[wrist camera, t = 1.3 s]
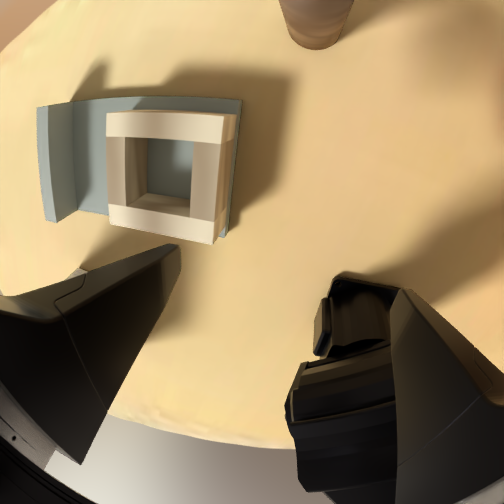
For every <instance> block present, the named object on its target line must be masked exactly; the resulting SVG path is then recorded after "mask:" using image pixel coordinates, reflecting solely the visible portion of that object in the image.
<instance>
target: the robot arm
mask: <svg viewBox="0 0 504 504" xmlns="http://www.w3.org/2000/svg"><path fill="white" fill-rule="evenodd" d="M180 271H181V249H180V247H179V246H178V245H174V244H166V245H163V246H160V247H157V248H154V249H151V250H148V251H145V252H142V253H139V254H137V255H134V256H131V257H128V258H125V259H122V260H120V261H117V262H114V263H111V264H109V265H106V266H103V267H100V268H98V269H95V270H92V271H89V272H87V273H84V274H81V275H79V276H76V277H73V278H70V279H67V280H65V281H62V282H59V283H55V284H52V285H49V286H46V287H43V288H39V289H36V290H33V291H30V292H27V293H23V294H20V295H16V296H2V295H0V504H97V503H95V502H94V501H92V500H90V499H88V498H86V497H85V496H83V495H81V494H80V493H78V492H76V491H74V490H73V489H71V488H69V487H68V486H66V485H65V484H63V483H62V482H60V481H59V480H57V479H56V478H54V477H53V476H51V475H50V474H49V473H47V472H46V471H44V469H45V467H46V465H47V463H48V462H49V460H50V458H51V456H52V454H53V453H54V451H55V450H57V451H59V452H60V453H61V454H63V455H65V456H66V457H68V458H70V459H71V460H73V461H74V462H76V463H78V464H79V465H81V464H82V462H83V461H84V458H85V456H86V454H87V452H88V450H89V448H90V446H91V444H92V442H93V440H94V438H95V436H96V434H97V432H98V430H99V428H100V426H101V424H102V422H103V420H104V418H105V416H106V414H107V412H108V411H107V410H109V408H110V406H111V404H112V402H113V400H114V398H115V396H116V394H117V393H118V391H119V389H120V387H121V385H122V383H123V381H124V379H125V378H126V376H127V374H128V372H129V370H130V368H131V367H132V365H133V363H134V361H135V359H136V357H137V356H138V354H139V352H140V350H141V348H142V347H143V345H144V343H145V341H146V340H147V338H148V336H149V334H150V333H151V331H152V329H153V327H154V326H155V324H156V322H157V320H158V319H159V317H160V315H161V313H162V312H163V310H164V308H165V306H166V304H167V301H168V299H169V297H170V295H171V292H172V290H173V288H174V285H175V283H176V281H177V279H178V276H179V274H180ZM336 282H341V283H340V284H336ZM313 353H314V355H315V356H320V360H317V361H313V362H308V361H307V362H303V363H301V364H300V367H299V369H298V371H297V374H296V376H295V379H294V381H293V384H292V386H291V388H290V391H289V393H288V396H287V399H286V402H285V405H284V407H285V412H286V413H285V419H286V421H287V425H288V429H289V432H290V434H291V436H292V437H293V438H294V442H295V448H296V454H297V471H298V480H299V482H300V483H301V485H302V486H303V488H304V489H305V490H306V492H323V493H324V494H325V495H326V496H327V497H328V498H329V499H330V500H331V501H332V502H333V503H334V504H504V374H503V373H502V372H501V371H500V370H499V369H498V368H497V367H496V366H495V365H494V364H492V363H491V362H490V361H489V360H488V359H487V358H486V357H485V356H484V355H483V354H482V353H481V352H480V351H479V350H478V349H477V348H476V347H475V348H474V345H473V344H472V343H470V342H469V341H468V340H467V339H466V338H465V337H464V336H463V335H462V334H461V333H460V332H459V331H458V330H457V329H456V328H454V327H453V326H452V325H451V324H450V323H449V322H448V321H447V320H446V319H445V318H443V317H442V316H441V315H440V314H439V313H438V312H437V311H436V310H434V309H433V308H432V307H431V306H430V305H429V304H428V303H426V302H425V301H424V300H423V299H422V298H421V297H419V296H418V295H417V294H416V293H415V292H414V291H412V290H410V289H405V288H396V287H391V286H386V285H381V284H376V283H371V282H366V281H361V280H356V279H351V278H346V277H341V276H337V277H335V278H333V280H332V282H331V285H330V288H329V291H328V294H327V297H326V298H323V299H322V300H321V303H320V306H319V308H318V311H317V314H316V317H315V320H314V342H313Z"/></svg>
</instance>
